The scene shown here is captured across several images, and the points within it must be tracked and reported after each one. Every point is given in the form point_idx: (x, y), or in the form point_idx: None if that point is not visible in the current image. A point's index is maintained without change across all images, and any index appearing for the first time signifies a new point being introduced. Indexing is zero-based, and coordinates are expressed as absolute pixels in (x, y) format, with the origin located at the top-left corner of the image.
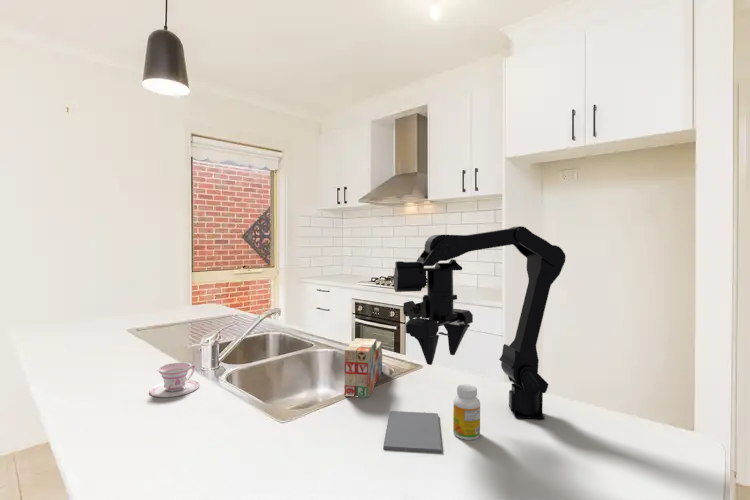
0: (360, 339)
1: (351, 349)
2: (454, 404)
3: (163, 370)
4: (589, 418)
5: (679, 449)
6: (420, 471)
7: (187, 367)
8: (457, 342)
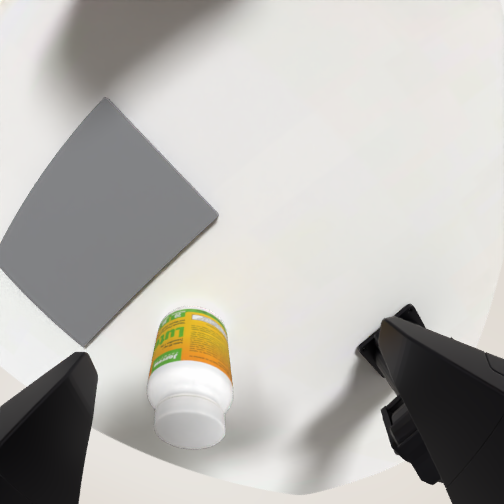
0: None
1: None
2: (150, 375)
3: None
4: None
5: (377, 461)
6: (26, 349)
7: None
8: (422, 429)
